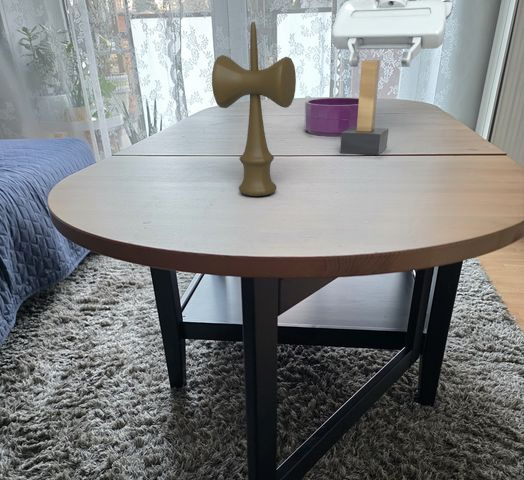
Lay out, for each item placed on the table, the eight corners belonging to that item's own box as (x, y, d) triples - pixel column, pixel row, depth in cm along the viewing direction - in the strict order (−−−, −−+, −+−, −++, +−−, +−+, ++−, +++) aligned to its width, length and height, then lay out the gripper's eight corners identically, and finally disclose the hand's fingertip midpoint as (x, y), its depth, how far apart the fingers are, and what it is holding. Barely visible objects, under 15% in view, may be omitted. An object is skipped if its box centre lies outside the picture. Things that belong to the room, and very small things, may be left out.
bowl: (361, 125, 119) (363, 97, 115) (376, 135, 107) (379, 104, 103) (301, 127, 118) (301, 98, 115) (309, 138, 106) (310, 106, 103)
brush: (350, 146, 98) (356, 59, 90) (386, 148, 95) (395, 59, 87) (340, 153, 92) (345, 61, 84) (378, 155, 90) (387, 61, 82)
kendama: (235, 185, 74) (226, 23, 63) (297, 190, 71) (300, 20, 60) (216, 196, 69) (204, 22, 59) (283, 202, 66) (282, 20, 56)
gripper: (454, 13, 93) (438, 77, 90) (345, 17, 100) (328, 76, 98) (455, -19, 87) (438, 49, 85) (340, -12, 94) (322, 50, 92)
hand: (378, 64), depth 91 cm, fingers open, 8 cm apart
